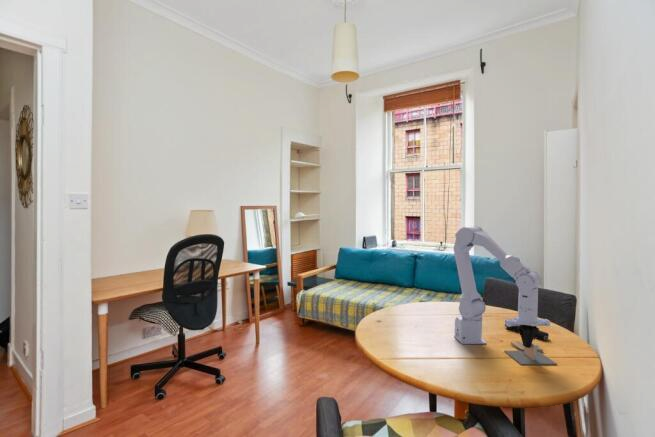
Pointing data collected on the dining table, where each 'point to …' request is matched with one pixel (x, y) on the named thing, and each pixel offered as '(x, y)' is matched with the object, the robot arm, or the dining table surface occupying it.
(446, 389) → the dining table surface
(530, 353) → the tile
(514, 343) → the tile rack
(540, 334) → the handgun
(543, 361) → the mat
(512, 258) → the robot arm
